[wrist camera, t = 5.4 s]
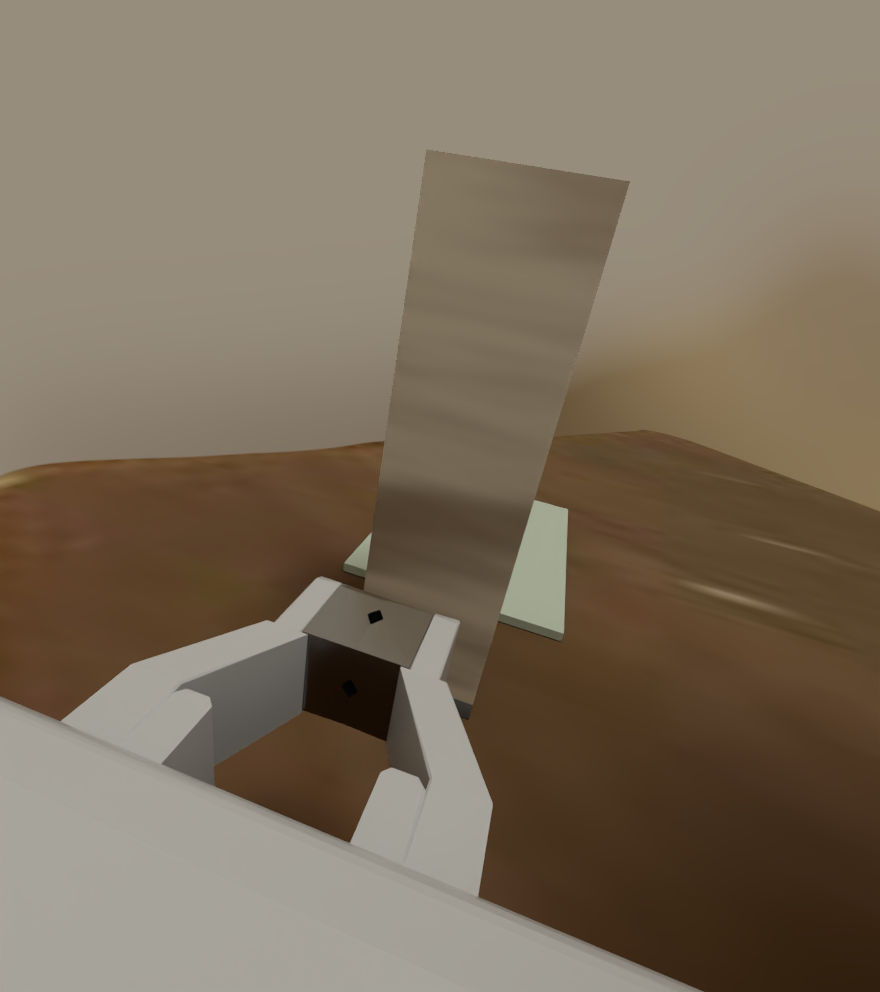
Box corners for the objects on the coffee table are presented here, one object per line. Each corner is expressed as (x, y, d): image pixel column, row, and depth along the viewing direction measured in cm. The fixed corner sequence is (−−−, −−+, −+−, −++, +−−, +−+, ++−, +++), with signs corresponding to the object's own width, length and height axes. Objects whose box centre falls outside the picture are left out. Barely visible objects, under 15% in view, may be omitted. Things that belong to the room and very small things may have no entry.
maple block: (468, 719, 18) (629, 181, 11) (351, 676, 19) (426, 149, 12) (489, 638, 23) (613, 218, 15) (393, 606, 24) (467, 193, 16)
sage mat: (561, 641, 24) (563, 633, 23) (343, 570, 25) (343, 563, 25) (565, 514, 38) (567, 509, 38) (426, 475, 40) (427, 470, 40)
